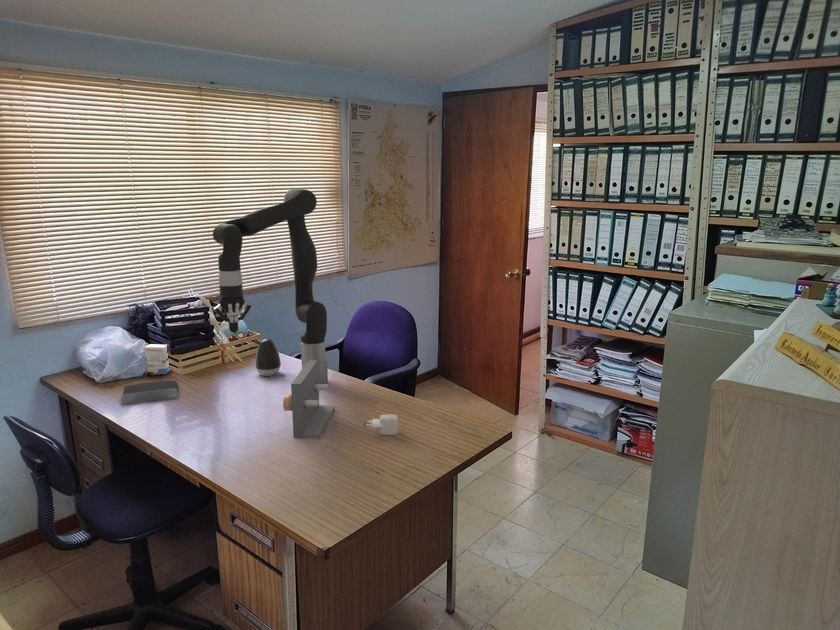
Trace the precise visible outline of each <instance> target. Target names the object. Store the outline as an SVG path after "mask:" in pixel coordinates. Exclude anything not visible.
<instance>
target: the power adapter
mask: <svg viewBox="0 0 840 630" xmlns="http://www.w3.org/2000/svg"><path fill="white" fill-rule="evenodd" d="M362 427H371V429H379V434H380V435H381V436H396V435H398V434H399V417H398V415H397V414H380V416H379V418H372V420H363V424H362Z"/></svg>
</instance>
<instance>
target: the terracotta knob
mask: <svg viewBox="0 0 840 630" xmlns="http://www.w3.org/2000/svg"><path fill="white" fill-rule="evenodd" d="M318 403H319V404H320V401H319V402H318V400H304V406H316V407H318ZM282 406H283V407H282V408H283V410H284V411H285V412H287V411H288V412H289V411H292V394H285V395H284V396H283V401H282Z"/></svg>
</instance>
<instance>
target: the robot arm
mask: <svg viewBox="0 0 840 630" xmlns="http://www.w3.org/2000/svg"><path fill="white" fill-rule="evenodd" d="M317 202H318V201H317V197H316V195H315V194H314V192H312V191H311V190H309V189H304V188H303V189H301V188H299V189H298V188H291V189H289V190H287V191H286V193H285V194H284V195H283V202H281V203H278V204H274V205H272V206H266V207H264V208H263V207H262V208H260V209H257V210H254V211H252V212H250V213H247V214H245V215H243V216H241V217H238V218H233V219H231V220H227V221H223V222H221V223H219V224H218V225H216V226H215V227H214V229H213V231H212V238H213V240H214V241H215V242H216V243H217V244H219V245H222V252H221V253H219V254H218V258H217V259H218V260H217V261H218V263H217V265H218V286H219V287H218V288H219V301H218V305H217V306H215V307H214V306H213V309H212V310H213V311H214V312H215V313H216V314H217V315H218V317H220V318H221V319H222V320H223V321H224V322H227V323H228V330H229V332H231V334H236V333H238V331H239V322H240V321H243V320H244V319H245V317H246V315H247V314H248V313H249V311H251V308H252V305H251V304H249V303H247V302H246V300H245V298H244V291H243V290H244V289H243V278H242V277H243V276H242V275H243V274H242V270H241V260H240V259H241V253H242V246H243V241H244V240H243V239H244V237H250V236H254V235H256V234H258V233H260V232H262V231H265V230H266V229H268V228H271V227H273V226H275V225H278V224H280V223H282V222H284V221H286V223H287V227H288V233H289V235H288V236H289V242H290V248H291V251H290V253H291V262H292V268H293V269H292V271H293V278H294V280H293V281H294V290H295V299H294V300H295V303H294V304H295V306H294V307H295V315H296V317H297V319H298V320H299V321H300V322H301V323H304V324H306V325H305V332H303V333H301V335H300V353H301V354H300V355H301V356H300V358H301V370H302V369H303V367H304V366H305V365H306V363H307V362H308V361H309V360H318V384H328V383H329V373H328V371H329V369H328V359H326V342H325V341H326V340H325V338H326V334H327V330H328V328H327V327H328V316H327V315H328V314H327V312H328V311H327V309H326V306H325V305H324V304H323V303H322V302H320V301H316V300H314V294H313V284H314V279H315V276H316V275H317V270H318V258H317V257H318V256H317V248H316V246H315V243H314V241H313V239H312V237H311V235H310V233H309V231H308V228H307V225H306V224H307V223H306V218H305V216H306V215H310V214H311V213H313V212H314V211H315V210H316V207H317V204H318V203H317ZM242 308H243V309H242ZM223 310H224V312H225V313H226V315H227V316H226V315H225V314H224V313H222V311H223ZM240 311H241V312H240Z"/></svg>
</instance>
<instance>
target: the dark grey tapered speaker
mask: <svg viewBox="0 0 840 630" xmlns="http://www.w3.org/2000/svg"><path fill="white" fill-rule="evenodd" d="M253 342H254V343H255V344H256V345H258V347H257V349H256V350H257V351H256V354H255V364H254V365H255V366H254V367H255V368H256V371H257V373H258V374H259V375H260V376H263V377H271V376H274V375H275V376H276V374H277V373H278V372H279V371H280V367H281V365H282V361H281V356H280V353H279V349H278V348H277V346H276V343H275V342H274V341H273V339H271V338H264V339H262V340H261V341H259V340H256V339H255V340H254V341H253Z"/></svg>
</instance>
